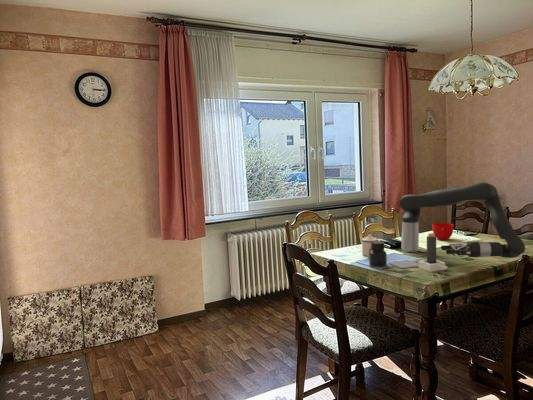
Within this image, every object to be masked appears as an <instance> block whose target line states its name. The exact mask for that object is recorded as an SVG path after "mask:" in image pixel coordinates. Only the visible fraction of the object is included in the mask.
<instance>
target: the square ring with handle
mask: <svg viewBox="0 0 533 400" xmlns="http://www.w3.org/2000/svg"><path fill="white" fill-rule="evenodd" d="M417 262H418V263H417V264H418V267H417V268H418V269H421V270H424V271H426V272H429V273H431V272H438V271H444V270H446V269H448V266H447V265H446V262H445V261H442V260H438V259H436V263H433V264H429V263H427V259H422V260H418V261H417Z"/></svg>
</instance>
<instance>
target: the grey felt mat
mask: <svg viewBox="0 0 533 400" xmlns="http://www.w3.org/2000/svg"><path fill="white" fill-rule="evenodd" d="M388 263H389V264H388V265H390V264H391V266H393V267H396V268H399V269H401V270H403V269H405V270H406V269H411V268H418V263H417V262H414V261H412V260H411V261H410V260H408V259H405V260H398V261H390V262H388Z"/></svg>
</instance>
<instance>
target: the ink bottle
mask: <svg viewBox="0 0 533 400" xmlns="http://www.w3.org/2000/svg"><path fill="white" fill-rule="evenodd" d="M371 249H372V250H371V251H370V252H369V256H368V257H369V258H368V262H369V265H370V266H371V267H376V266H377V267H379V268H380V267H386V266H387V265H388V261H387V257H388V256H387V252H386V251H385V242H384V241H380V240H378V241H373V242H371Z"/></svg>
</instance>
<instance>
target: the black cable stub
mask: <svg viewBox="0 0 533 400" xmlns="http://www.w3.org/2000/svg"><path fill="white" fill-rule="evenodd" d="M426 260H427V263H429V264H433V263H436V260H437V238H436V237H435V234H434V233H433V232H429V233H428V236H426Z"/></svg>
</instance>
